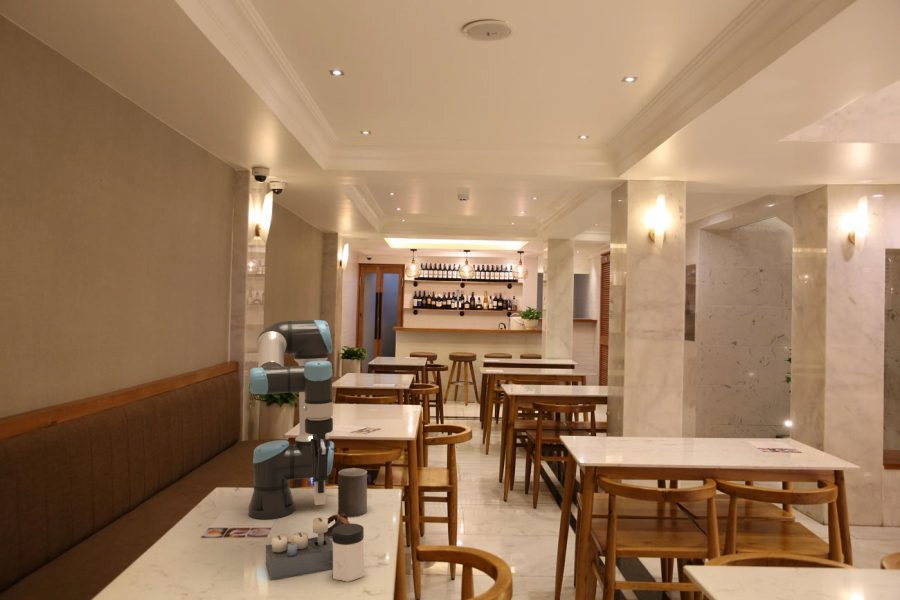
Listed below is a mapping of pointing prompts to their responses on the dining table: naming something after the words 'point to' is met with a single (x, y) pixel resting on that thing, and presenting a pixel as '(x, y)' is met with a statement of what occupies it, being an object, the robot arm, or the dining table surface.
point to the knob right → (320, 528)
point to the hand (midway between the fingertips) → (320, 503)
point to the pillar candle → (352, 492)
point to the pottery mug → (336, 522)
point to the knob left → (279, 543)
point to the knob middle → (301, 540)
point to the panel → (300, 559)
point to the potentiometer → (292, 548)
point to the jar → (348, 552)
